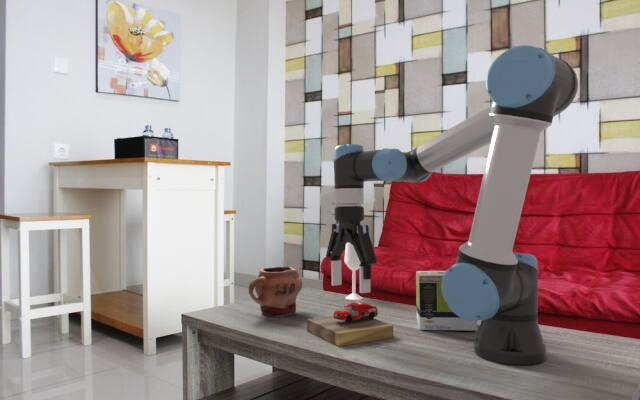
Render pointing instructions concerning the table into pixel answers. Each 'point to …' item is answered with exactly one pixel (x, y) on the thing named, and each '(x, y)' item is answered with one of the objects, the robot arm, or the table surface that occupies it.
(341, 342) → the square wooden board
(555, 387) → the table surface
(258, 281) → the terracotta clay mug
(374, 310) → the race car
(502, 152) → the robot arm
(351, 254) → the champagne flute
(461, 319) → the tea box
